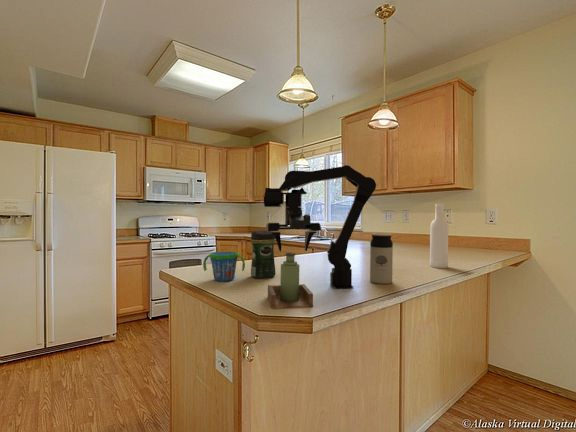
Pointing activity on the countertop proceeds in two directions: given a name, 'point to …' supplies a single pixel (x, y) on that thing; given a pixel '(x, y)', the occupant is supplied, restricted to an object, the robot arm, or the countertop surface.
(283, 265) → the bottle
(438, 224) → the bottle
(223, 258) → the snack cup
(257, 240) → the coffee jar
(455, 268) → the countertop surface
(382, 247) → the travel mug
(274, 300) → the wooden serving tray
